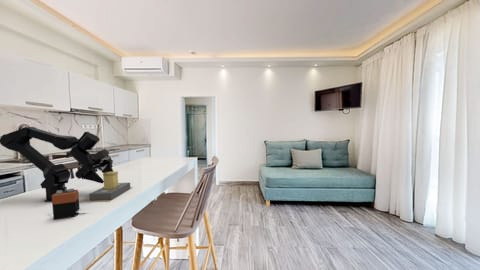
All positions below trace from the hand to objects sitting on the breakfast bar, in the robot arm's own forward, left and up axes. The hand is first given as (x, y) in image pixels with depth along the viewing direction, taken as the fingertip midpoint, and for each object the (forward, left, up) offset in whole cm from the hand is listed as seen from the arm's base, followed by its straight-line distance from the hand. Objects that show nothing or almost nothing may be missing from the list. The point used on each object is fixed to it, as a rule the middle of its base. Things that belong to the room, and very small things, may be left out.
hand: (109, 179), depth 97 cm
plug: (+1, 0, -7) cm, 7 cm away
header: (+1, 0, -8) cm, 8 cm away
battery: (-11, -16, -8) cm, 22 cm away
